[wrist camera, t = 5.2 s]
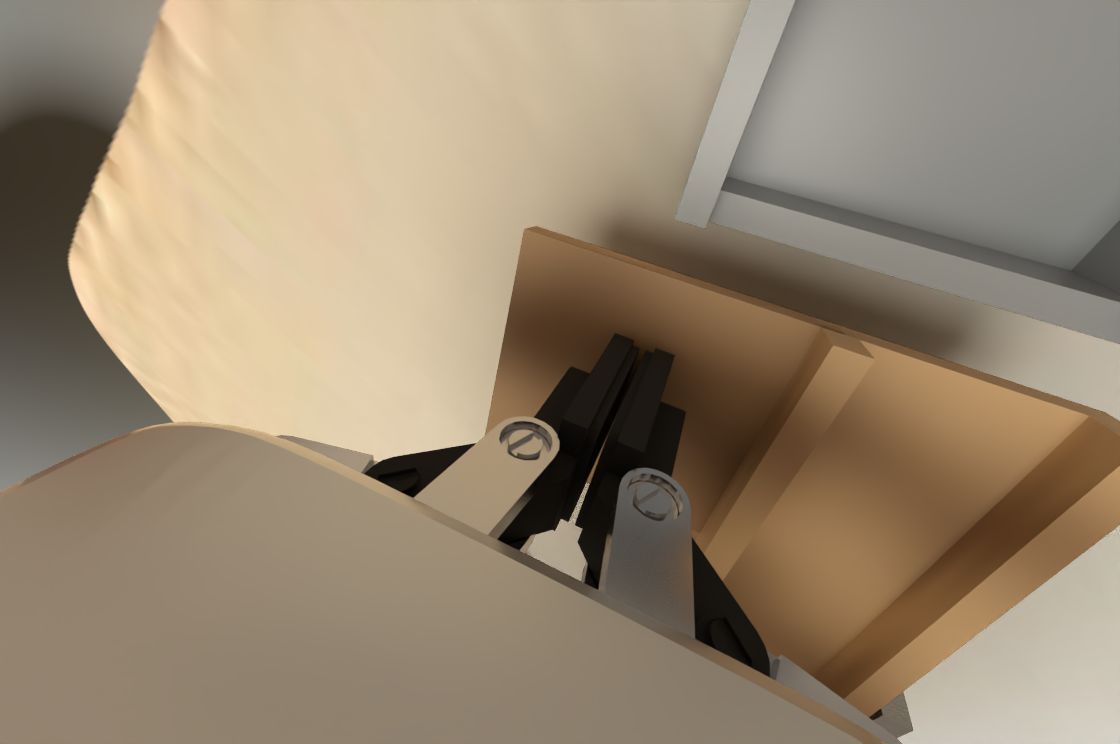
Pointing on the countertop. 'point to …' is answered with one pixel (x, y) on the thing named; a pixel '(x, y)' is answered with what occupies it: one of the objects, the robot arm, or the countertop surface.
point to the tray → (929, 146)
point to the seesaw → (829, 462)
